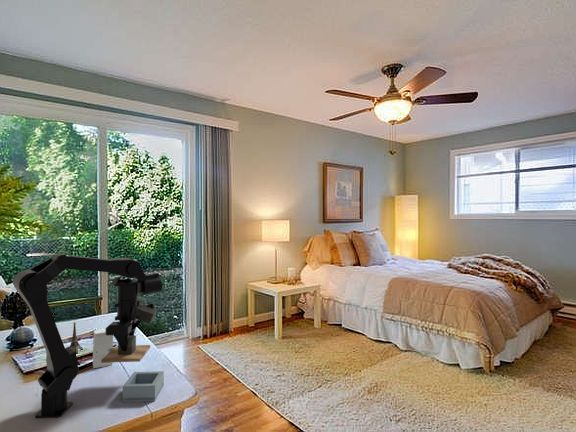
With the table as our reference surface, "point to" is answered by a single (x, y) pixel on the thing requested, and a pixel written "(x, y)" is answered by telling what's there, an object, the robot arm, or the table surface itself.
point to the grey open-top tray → (143, 386)
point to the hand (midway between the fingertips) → (127, 348)
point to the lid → (127, 352)
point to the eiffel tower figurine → (75, 341)
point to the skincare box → (101, 347)
